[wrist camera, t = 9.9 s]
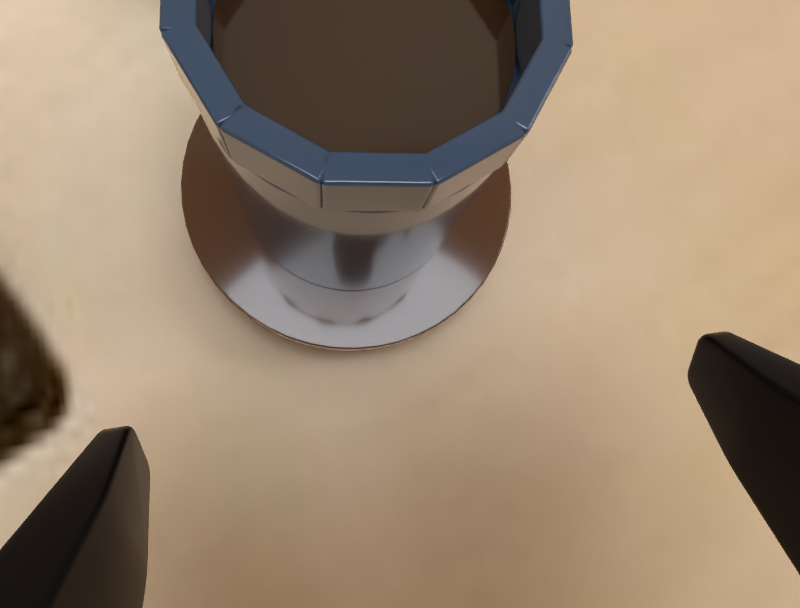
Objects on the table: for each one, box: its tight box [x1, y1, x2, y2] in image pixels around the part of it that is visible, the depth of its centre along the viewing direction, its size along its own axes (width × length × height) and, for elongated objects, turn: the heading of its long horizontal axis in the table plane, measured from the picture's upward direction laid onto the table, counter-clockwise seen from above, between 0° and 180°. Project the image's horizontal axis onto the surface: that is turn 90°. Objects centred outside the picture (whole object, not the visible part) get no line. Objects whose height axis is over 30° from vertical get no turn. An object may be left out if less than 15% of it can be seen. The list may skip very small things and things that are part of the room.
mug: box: [159, 0, 573, 351], centre depth 16 cm, size 12×11×11 cm
